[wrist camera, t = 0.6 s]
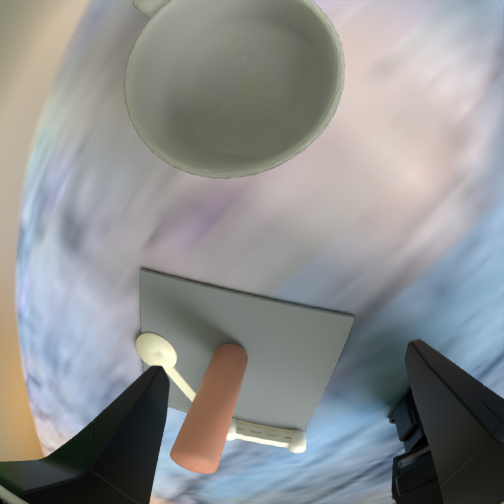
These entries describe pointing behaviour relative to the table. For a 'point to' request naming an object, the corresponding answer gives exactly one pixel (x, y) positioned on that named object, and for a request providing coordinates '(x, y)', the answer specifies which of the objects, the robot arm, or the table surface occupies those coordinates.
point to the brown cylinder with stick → (211, 412)
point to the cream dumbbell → (268, 436)
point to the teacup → (232, 82)
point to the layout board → (246, 337)
